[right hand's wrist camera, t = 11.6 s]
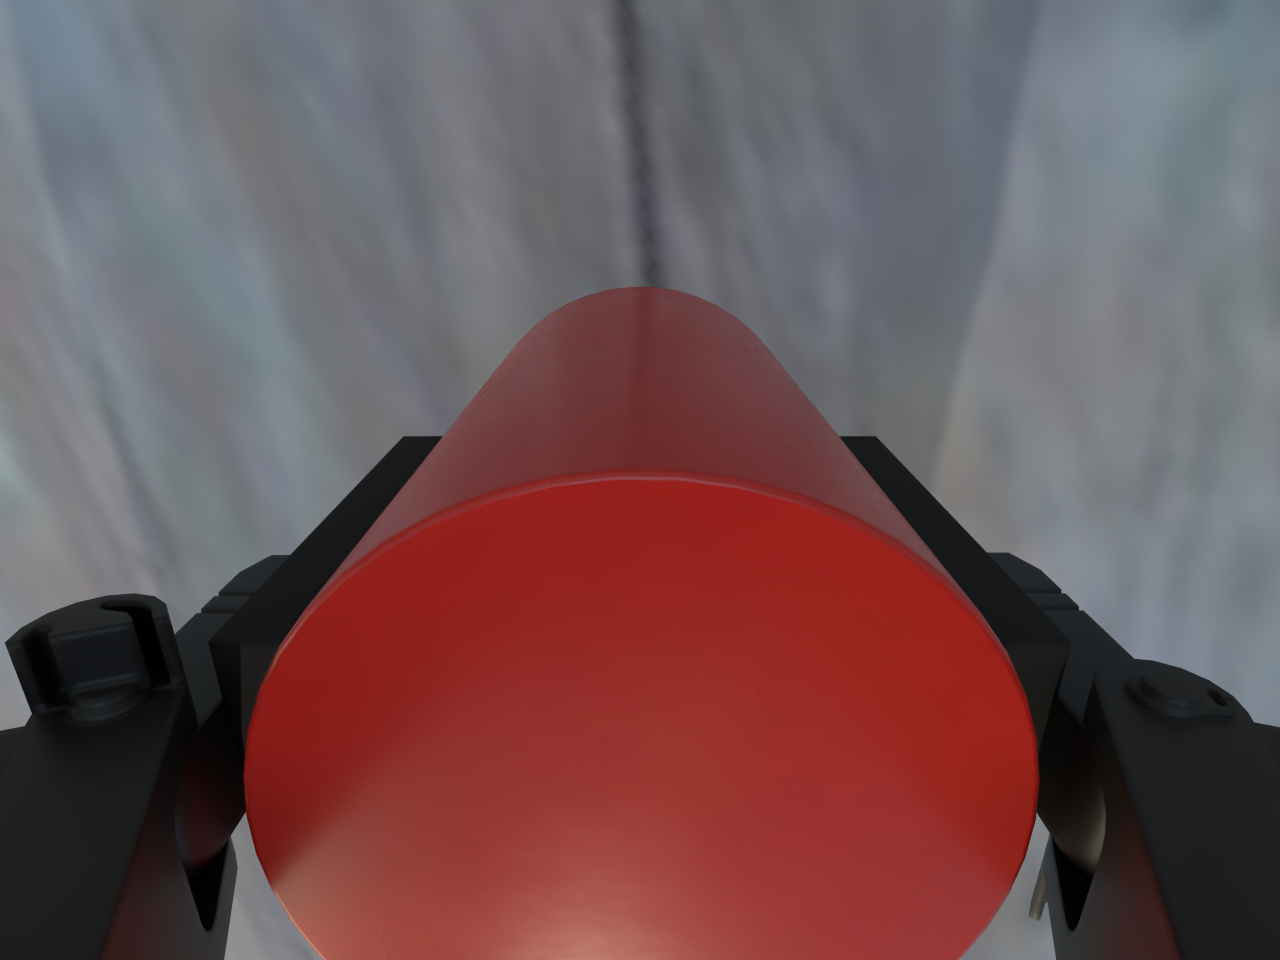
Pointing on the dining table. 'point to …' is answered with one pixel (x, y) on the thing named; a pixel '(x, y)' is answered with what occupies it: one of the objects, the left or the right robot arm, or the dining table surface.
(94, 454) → the dining table surface
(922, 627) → the canister
